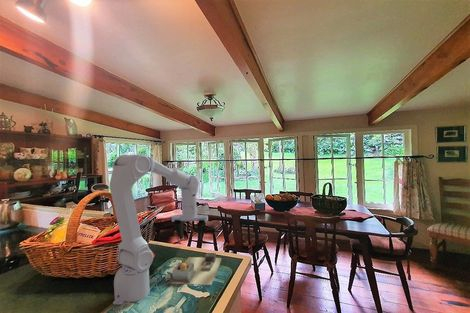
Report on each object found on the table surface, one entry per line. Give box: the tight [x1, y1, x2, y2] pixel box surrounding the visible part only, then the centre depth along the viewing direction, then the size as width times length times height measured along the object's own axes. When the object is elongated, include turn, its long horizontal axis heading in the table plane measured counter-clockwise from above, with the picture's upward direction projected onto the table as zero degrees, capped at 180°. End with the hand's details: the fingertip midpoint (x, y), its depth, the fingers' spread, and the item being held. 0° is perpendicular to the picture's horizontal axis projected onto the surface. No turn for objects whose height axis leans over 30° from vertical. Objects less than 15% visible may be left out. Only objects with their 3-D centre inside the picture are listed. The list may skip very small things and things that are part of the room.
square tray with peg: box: [170, 262, 196, 283], centre depth 76 cm, size 6×6×5 cm
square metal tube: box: [172, 262, 194, 281], centre depth 76 cm, size 6×6×3 cm
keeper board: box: [170, 252, 223, 286], centre depth 81 cm, size 14×18×3 cm
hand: (190, 238), depth 88 cm, fingers open, 7 cm apart
